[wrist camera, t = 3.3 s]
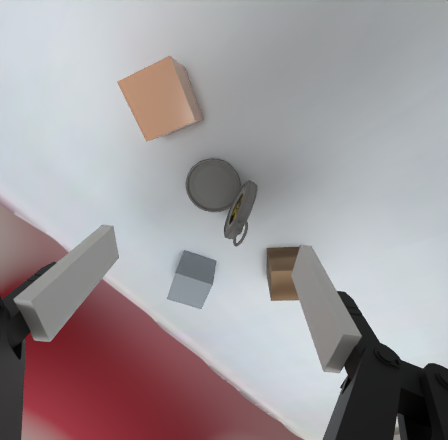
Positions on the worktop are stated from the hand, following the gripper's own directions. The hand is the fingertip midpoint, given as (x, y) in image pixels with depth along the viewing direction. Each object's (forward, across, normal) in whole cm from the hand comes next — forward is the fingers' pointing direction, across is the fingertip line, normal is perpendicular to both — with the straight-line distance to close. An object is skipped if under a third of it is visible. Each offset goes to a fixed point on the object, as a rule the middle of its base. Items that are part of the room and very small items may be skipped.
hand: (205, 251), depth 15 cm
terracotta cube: (+13, -6, +9) cm, 17 cm away
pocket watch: (+13, 0, 0) cm, 13 cm away
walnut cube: (+13, +10, -10) cm, 19 cm away
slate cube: (+13, -3, -13) cm, 19 cm away
